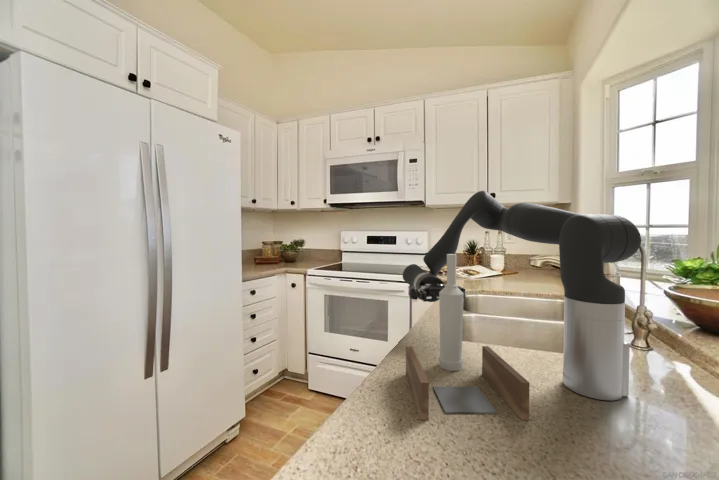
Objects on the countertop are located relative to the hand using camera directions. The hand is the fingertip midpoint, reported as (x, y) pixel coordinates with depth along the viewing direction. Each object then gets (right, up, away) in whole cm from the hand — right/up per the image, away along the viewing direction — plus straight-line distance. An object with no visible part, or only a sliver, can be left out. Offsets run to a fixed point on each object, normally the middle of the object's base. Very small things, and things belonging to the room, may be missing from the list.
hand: (442, 297), depth 77 cm
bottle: (0, -14, -7) cm, 16 cm away
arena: (-2, -14, -19) cm, 24 cm away
